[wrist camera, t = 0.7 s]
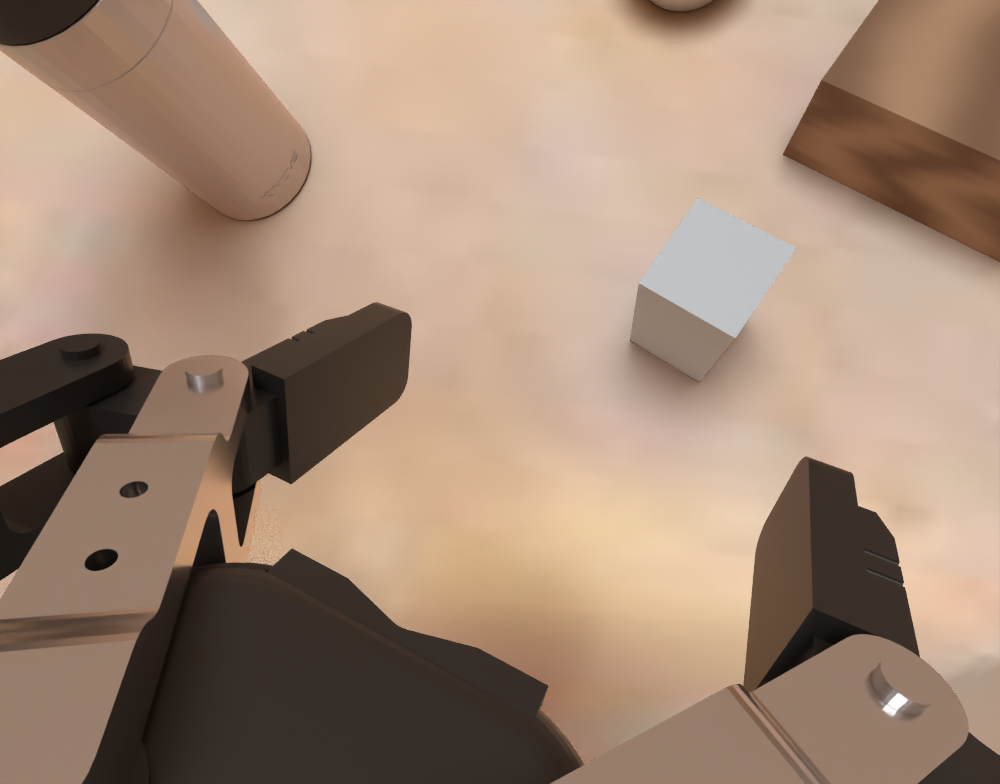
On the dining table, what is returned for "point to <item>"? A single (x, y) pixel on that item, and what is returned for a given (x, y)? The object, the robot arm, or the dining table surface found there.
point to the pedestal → (916, 116)
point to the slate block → (704, 288)
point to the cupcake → (681, 4)
